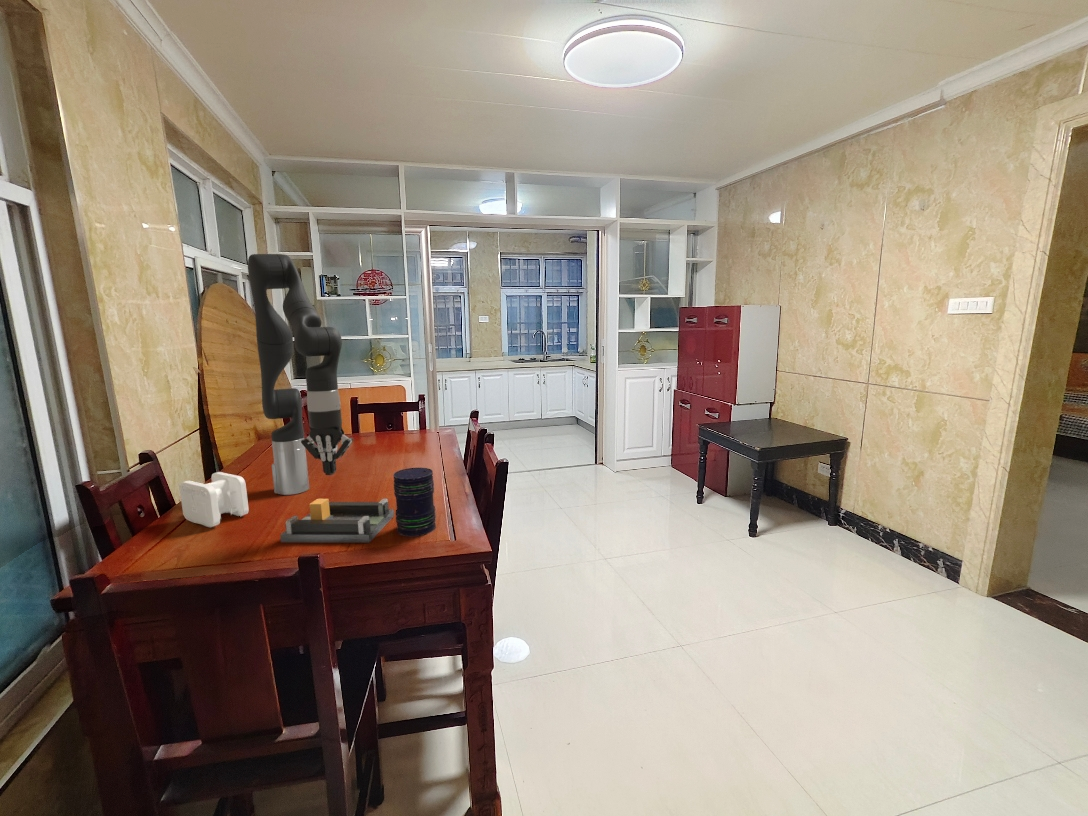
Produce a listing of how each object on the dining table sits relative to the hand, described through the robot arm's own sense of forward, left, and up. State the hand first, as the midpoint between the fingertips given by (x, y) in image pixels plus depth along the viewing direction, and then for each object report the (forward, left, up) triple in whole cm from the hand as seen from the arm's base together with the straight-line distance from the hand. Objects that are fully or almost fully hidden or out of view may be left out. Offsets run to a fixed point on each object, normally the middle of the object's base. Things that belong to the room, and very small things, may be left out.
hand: (330, 474), depth 124 cm
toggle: (-4, 0, -12) cm, 13 cm away
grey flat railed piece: (+2, 0, -15) cm, 15 cm away
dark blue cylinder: (+22, 0, -15) cm, 26 cm away
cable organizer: (-36, +6, -15) cm, 40 cm away
